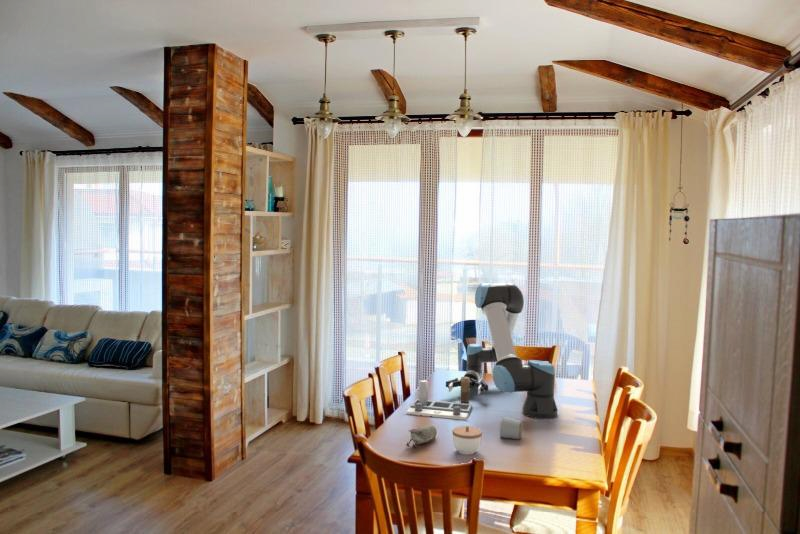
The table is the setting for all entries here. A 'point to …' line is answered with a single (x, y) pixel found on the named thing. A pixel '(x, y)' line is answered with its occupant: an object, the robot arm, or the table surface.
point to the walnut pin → (465, 390)
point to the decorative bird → (422, 434)
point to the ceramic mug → (511, 428)
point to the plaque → (438, 412)
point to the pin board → (431, 404)
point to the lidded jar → (467, 439)
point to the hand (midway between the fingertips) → (464, 390)
